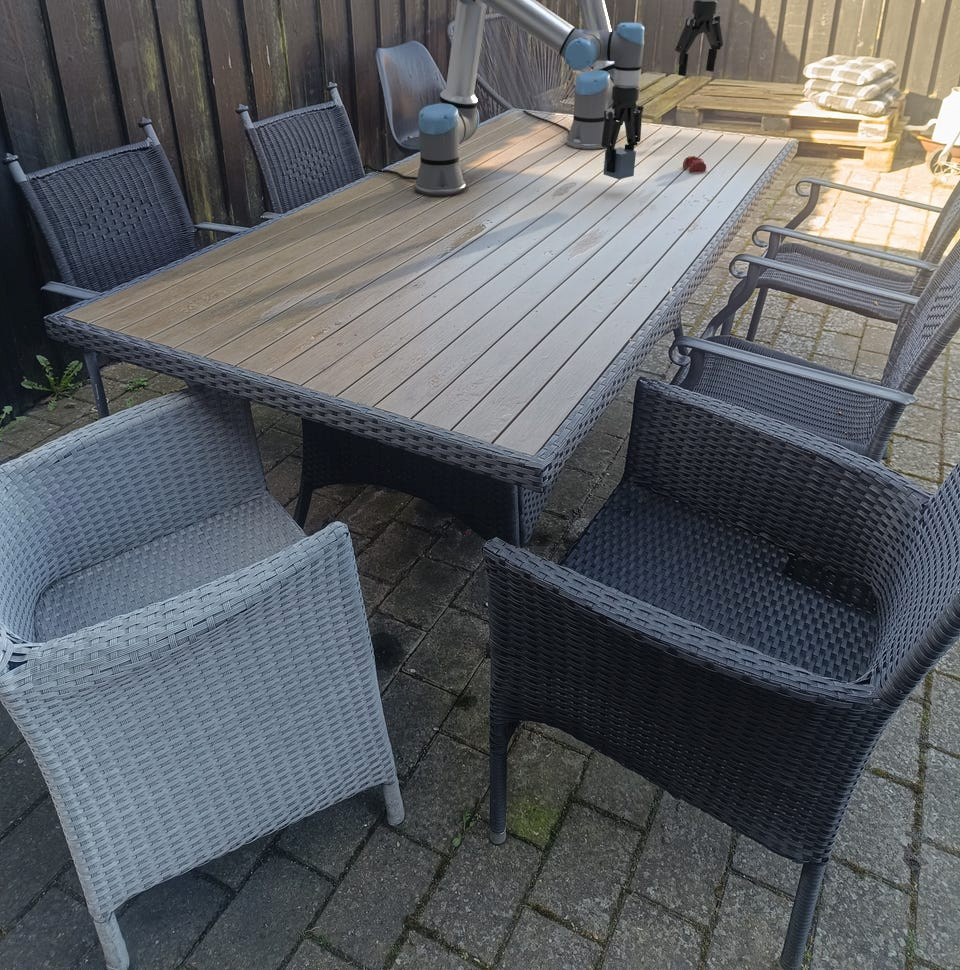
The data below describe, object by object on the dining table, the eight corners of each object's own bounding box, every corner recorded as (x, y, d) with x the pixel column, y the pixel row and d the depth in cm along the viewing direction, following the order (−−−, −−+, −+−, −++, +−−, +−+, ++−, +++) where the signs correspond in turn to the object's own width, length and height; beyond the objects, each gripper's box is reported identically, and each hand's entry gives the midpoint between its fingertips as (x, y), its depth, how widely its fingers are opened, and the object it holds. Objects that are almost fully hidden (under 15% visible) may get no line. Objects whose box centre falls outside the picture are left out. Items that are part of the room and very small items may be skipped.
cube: (633, 176, 251) (636, 151, 247) (618, 179, 248) (621, 154, 244) (618, 171, 255) (620, 146, 251) (603, 174, 252) (605, 149, 248)
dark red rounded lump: (697, 152, 277) (708, 159, 271) (696, 165, 280) (707, 172, 273) (682, 154, 276) (692, 161, 270) (680, 167, 279) (691, 174, 272)
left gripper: (640, 79, 244) (632, 161, 258) (591, 87, 235) (586, 172, 249) (659, 83, 239) (650, 167, 253) (610, 91, 230) (603, 178, 244)
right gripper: (722, -4, 276) (712, 67, 288) (669, 1, 264) (661, 75, 276) (740, -2, 271) (729, 70, 284) (687, 3, 259) (678, 79, 272)
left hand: (618, 169), depth 251 cm, fingers closed on cube, 6 cm apart
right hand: (695, 73), depth 280 cm, fingers open, 13 cm apart
